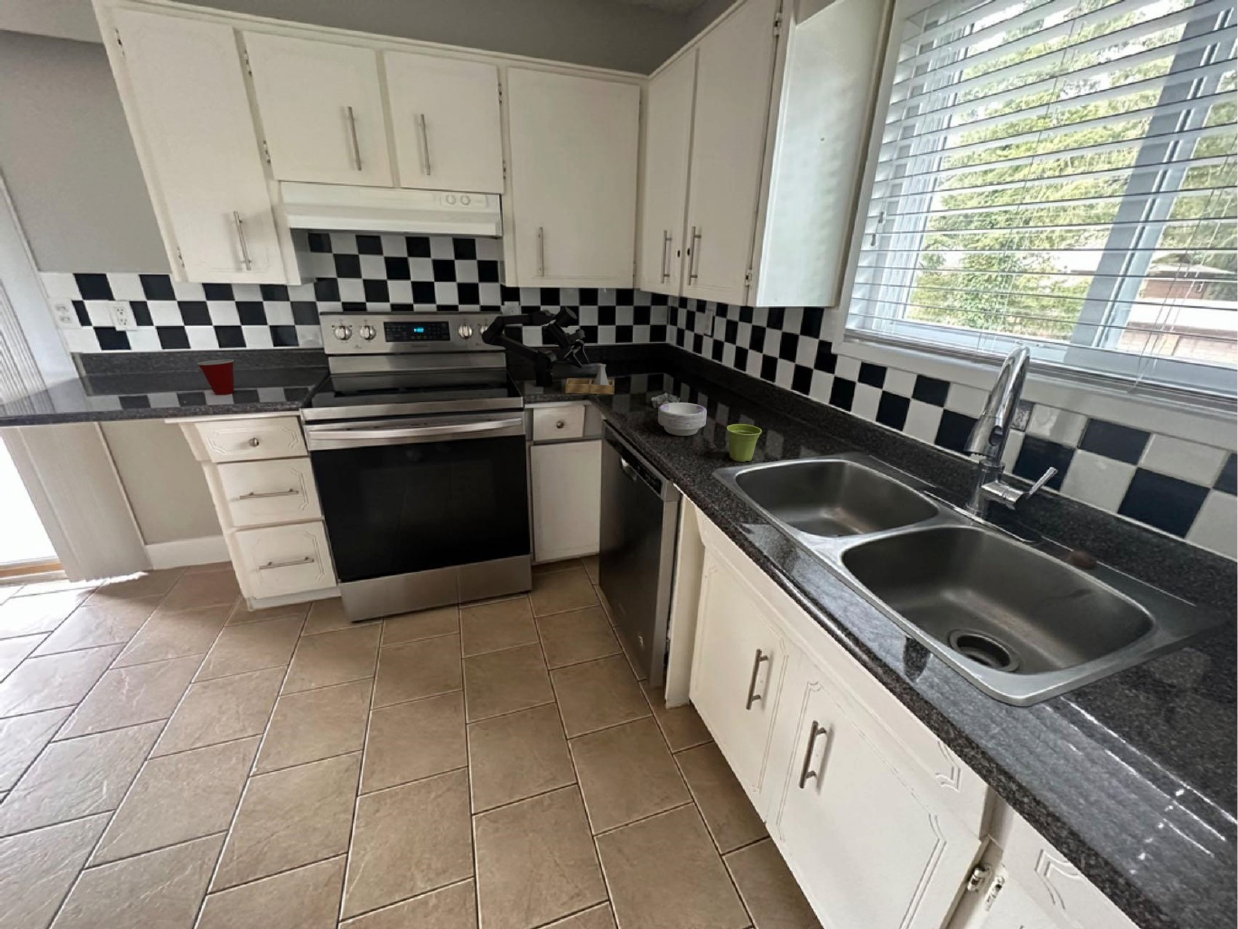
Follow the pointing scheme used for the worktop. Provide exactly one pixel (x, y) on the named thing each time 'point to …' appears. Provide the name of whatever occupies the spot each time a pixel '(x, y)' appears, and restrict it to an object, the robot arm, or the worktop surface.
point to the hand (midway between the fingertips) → (584, 365)
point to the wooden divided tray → (588, 386)
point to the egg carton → (664, 400)
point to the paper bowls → (682, 418)
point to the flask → (601, 376)
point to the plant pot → (742, 441)
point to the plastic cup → (219, 375)
